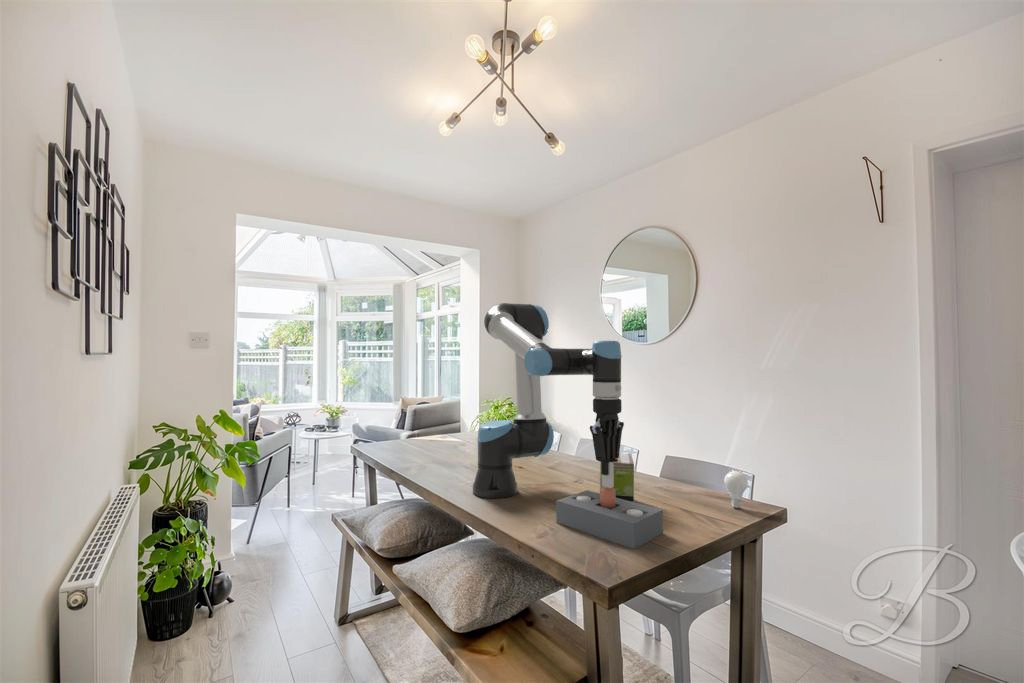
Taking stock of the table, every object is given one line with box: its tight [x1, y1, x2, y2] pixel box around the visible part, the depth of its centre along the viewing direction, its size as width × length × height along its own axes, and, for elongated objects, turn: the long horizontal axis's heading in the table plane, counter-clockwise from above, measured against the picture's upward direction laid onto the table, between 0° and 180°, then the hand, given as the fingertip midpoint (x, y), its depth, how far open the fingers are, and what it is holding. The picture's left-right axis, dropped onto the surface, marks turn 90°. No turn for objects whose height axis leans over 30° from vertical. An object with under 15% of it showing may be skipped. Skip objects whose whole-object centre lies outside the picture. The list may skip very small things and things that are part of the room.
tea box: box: [599, 452, 635, 502], centre depth 140 cm, size 15×10×15 cm
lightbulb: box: [724, 470, 749, 510], centre depth 136 cm, size 6×6×11 cm
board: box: [555, 489, 664, 550], centre depth 121 cm, size 24×14×6 cm, turn 44°
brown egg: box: [599, 487, 616, 509], centre depth 121 cm, size 4×4×6 cm
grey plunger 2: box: [626, 509, 643, 517], centre depth 115 cm, size 4×4×6 cm
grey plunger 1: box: [576, 496, 591, 502], centre depth 126 cm, size 4×4×6 cm
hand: (607, 486), depth 121 cm, fingers closed
